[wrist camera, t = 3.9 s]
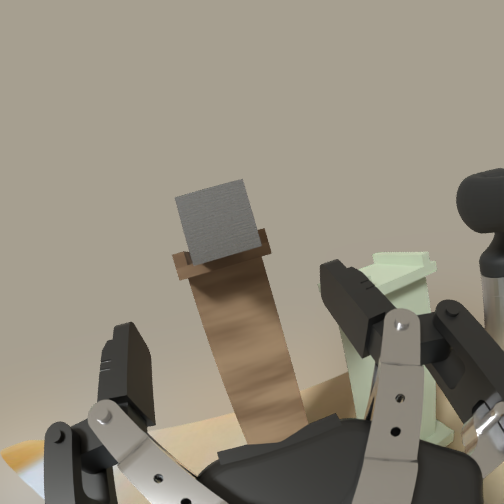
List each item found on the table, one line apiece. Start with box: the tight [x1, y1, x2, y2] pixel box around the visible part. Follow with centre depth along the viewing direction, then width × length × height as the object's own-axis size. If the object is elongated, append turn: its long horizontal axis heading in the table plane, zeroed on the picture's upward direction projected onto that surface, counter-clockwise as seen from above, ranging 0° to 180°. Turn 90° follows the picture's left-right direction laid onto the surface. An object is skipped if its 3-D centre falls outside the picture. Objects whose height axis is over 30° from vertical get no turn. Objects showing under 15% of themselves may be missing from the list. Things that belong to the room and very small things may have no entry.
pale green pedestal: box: [318, 252, 454, 447], centre depth 31 cm, size 12×12×27 cm
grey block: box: [175, 179, 262, 266], centre depth 27 cm, size 22×4×4 cm, turn 7°
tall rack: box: [172, 228, 308, 445], centre depth 32 cm, size 15×12×33 cm
